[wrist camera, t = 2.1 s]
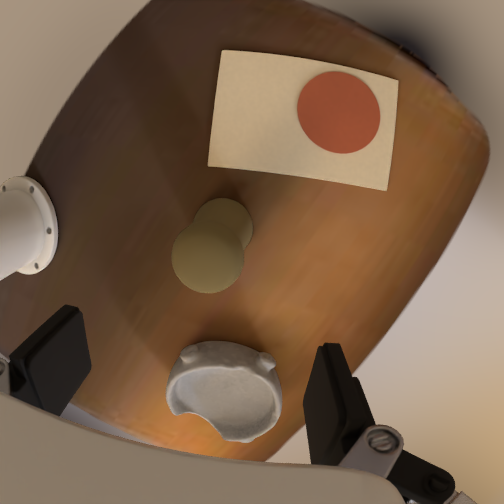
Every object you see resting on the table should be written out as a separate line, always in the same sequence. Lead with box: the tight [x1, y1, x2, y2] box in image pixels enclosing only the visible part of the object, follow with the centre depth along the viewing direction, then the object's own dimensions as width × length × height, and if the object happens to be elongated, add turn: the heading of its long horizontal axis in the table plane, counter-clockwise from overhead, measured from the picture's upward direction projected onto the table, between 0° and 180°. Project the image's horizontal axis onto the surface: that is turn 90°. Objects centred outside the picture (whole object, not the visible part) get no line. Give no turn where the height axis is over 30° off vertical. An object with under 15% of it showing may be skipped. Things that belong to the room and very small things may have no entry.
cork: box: [171, 198, 253, 293], centre depth 26 cm, size 6×6×11 cm
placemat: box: [208, 50, 398, 191], centre depth 27 cm, size 18×12×1 cm, turn 84°
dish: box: [166, 341, 282, 443], centre depth 34 cm, size 14×14×5 cm
